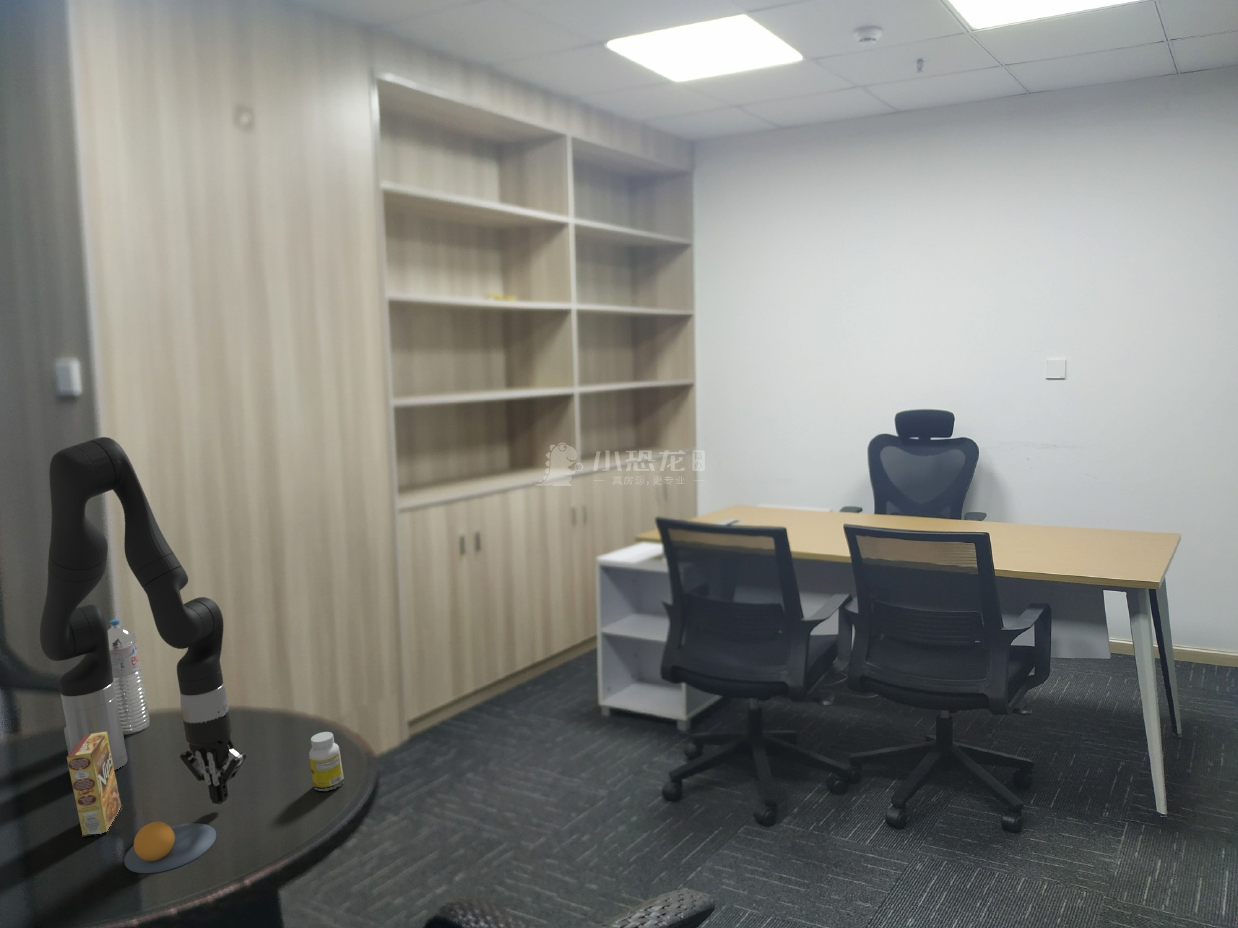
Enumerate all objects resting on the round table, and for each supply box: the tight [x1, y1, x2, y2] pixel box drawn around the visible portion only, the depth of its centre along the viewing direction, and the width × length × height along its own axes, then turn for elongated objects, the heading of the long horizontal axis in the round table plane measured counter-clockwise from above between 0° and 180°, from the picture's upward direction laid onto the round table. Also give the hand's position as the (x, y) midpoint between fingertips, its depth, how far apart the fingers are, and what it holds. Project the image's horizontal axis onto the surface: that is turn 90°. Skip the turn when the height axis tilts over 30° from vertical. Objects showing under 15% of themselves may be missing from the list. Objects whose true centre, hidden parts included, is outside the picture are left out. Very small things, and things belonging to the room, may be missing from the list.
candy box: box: [66, 732, 122, 836], centre depth 163 cm, size 9×4×15 cm, turn 13°
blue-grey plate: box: [123, 822, 217, 874], centre depth 154 cm, size 14×14×1 cm
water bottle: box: [107, 618, 151, 736], centre depth 201 cm, size 7×7×25 cm
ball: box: [133, 821, 175, 861], centre depth 151 cm, size 6×6×6 cm
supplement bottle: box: [308, 731, 345, 789], centre depth 170 cm, size 5×5×10 cm
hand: (220, 801), depth 165 cm, fingers closed
